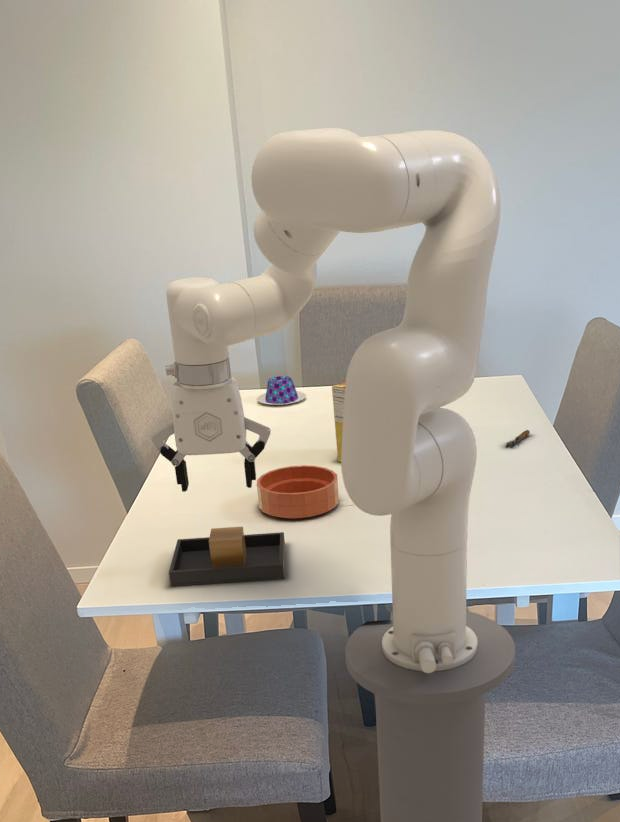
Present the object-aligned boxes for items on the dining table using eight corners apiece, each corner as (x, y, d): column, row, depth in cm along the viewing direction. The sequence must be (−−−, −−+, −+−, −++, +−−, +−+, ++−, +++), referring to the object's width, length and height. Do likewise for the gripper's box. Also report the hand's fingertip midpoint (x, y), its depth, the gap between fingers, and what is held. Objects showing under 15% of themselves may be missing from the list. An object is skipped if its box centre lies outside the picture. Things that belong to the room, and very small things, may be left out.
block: (245, 568, 143) (241, 539, 141) (212, 571, 143) (208, 541, 141) (246, 555, 148) (243, 526, 145) (215, 557, 148) (211, 528, 145)
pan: (284, 578, 141) (282, 564, 139) (171, 586, 140) (168, 572, 139) (285, 545, 151) (283, 532, 150) (179, 552, 151) (177, 539, 150)
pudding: (266, 393, 232) (264, 371, 229) (312, 393, 229) (310, 372, 226) (250, 406, 222) (248, 384, 219) (298, 407, 219) (296, 385, 216)
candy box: (363, 448, 191) (360, 374, 183) (380, 452, 189) (377, 377, 181) (335, 461, 185) (331, 385, 178) (352, 465, 183) (348, 388, 175)
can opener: (525, 434, 193) (525, 429, 193) (535, 436, 192) (535, 430, 191) (502, 446, 188) (502, 441, 187) (512, 448, 186) (512, 443, 186)
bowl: (340, 518, 160) (338, 491, 157) (258, 523, 160) (255, 496, 157) (337, 488, 172) (335, 463, 170) (261, 493, 172) (258, 468, 169)
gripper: (138, 382, 127) (156, 499, 136) (264, 375, 128) (274, 492, 136) (145, 368, 134) (163, 480, 142) (265, 362, 134) (275, 474, 143)
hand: (217, 486), depth 139 cm, fingers open, 9 cm apart
